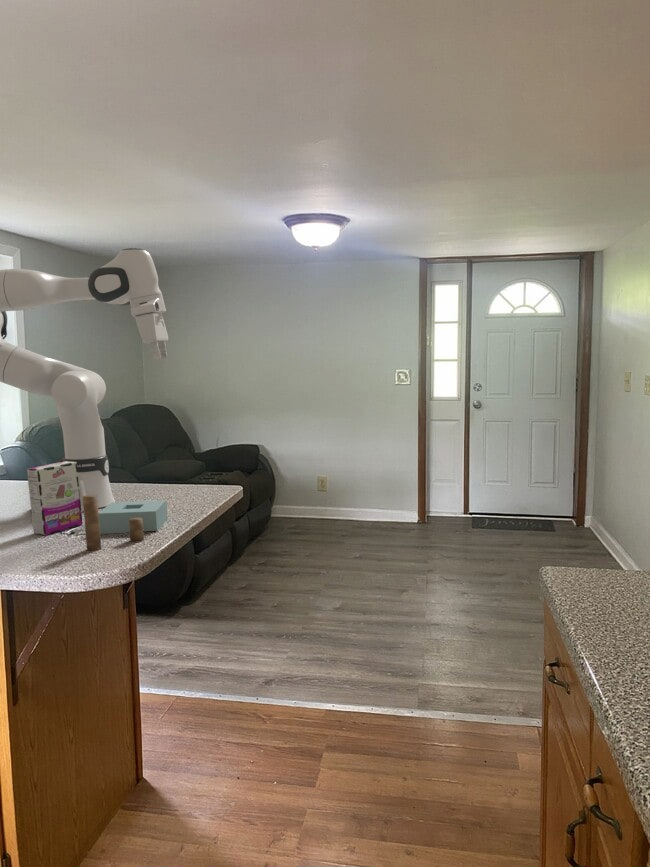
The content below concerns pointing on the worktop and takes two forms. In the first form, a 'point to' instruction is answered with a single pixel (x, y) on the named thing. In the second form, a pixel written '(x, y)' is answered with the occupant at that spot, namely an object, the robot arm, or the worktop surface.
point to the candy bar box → (54, 497)
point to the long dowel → (92, 522)
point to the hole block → (132, 516)
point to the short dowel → (136, 529)
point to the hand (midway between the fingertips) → (161, 358)
